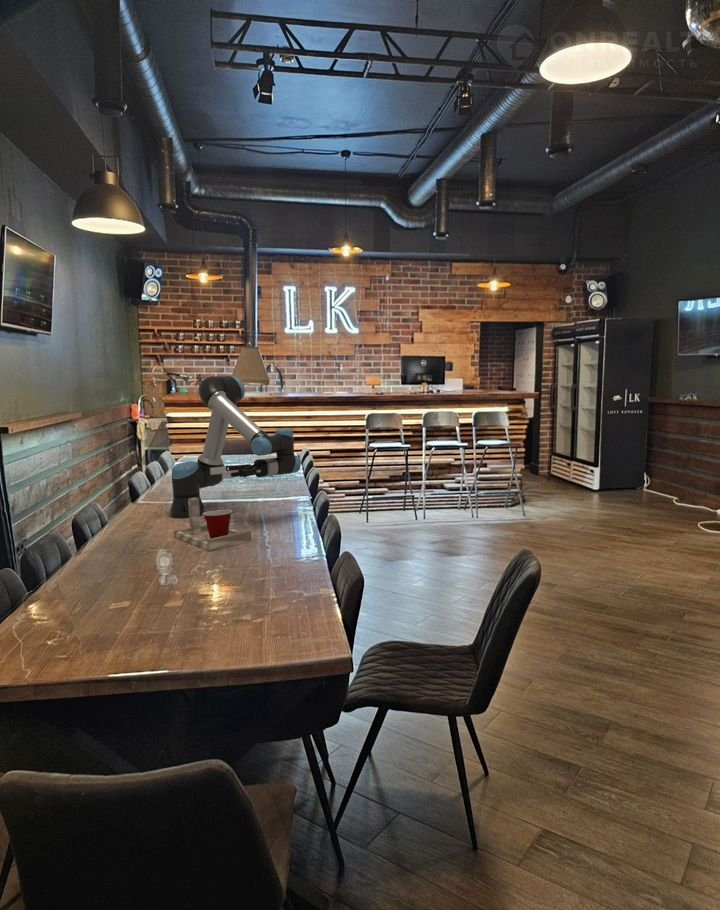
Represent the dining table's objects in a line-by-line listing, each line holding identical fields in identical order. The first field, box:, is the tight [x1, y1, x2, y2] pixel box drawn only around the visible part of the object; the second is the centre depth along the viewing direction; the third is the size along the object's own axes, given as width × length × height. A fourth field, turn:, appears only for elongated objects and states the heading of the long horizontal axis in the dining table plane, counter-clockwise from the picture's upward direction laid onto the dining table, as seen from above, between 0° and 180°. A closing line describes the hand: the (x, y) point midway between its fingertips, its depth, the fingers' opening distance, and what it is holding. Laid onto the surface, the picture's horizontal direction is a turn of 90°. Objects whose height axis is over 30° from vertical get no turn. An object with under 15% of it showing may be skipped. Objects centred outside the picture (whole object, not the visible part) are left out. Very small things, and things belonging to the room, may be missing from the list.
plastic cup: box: [202, 509, 233, 539], centre depth 217 cm, size 11×11×12 cm
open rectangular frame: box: [173, 498, 252, 552], centre depth 221 cm, size 28×17×14 cm, turn 44°
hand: (216, 473), depth 233 cm, fingers open, 13 cm apart
